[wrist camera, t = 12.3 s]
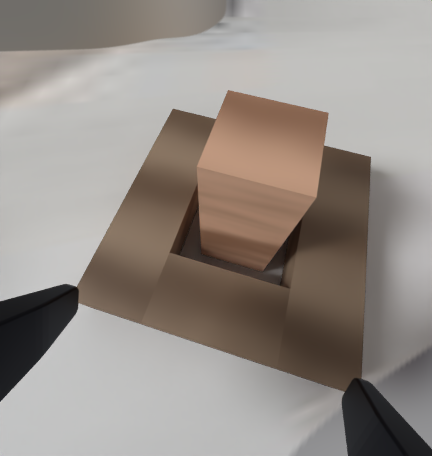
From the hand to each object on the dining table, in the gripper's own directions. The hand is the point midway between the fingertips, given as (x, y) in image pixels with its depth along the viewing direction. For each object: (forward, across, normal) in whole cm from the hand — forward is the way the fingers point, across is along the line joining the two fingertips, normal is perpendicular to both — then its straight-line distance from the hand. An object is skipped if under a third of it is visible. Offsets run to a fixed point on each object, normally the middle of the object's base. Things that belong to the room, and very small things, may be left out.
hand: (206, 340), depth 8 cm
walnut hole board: (+12, 0, +1) cm, 12 cm away
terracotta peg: (+12, 0, +1) cm, 12 cm away
